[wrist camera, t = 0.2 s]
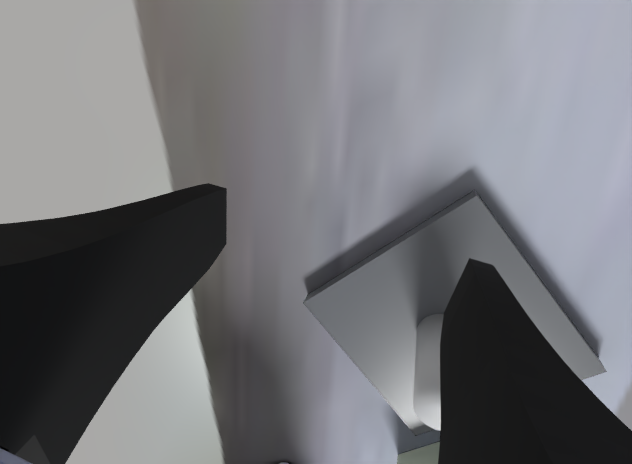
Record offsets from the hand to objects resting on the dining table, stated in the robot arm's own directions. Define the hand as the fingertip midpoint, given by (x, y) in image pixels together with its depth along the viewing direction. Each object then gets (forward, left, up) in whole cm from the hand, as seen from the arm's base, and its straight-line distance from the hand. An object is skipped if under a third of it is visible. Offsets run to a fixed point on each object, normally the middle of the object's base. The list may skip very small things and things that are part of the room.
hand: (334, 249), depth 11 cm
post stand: (-3, -10, -11) cm, 15 cm away
